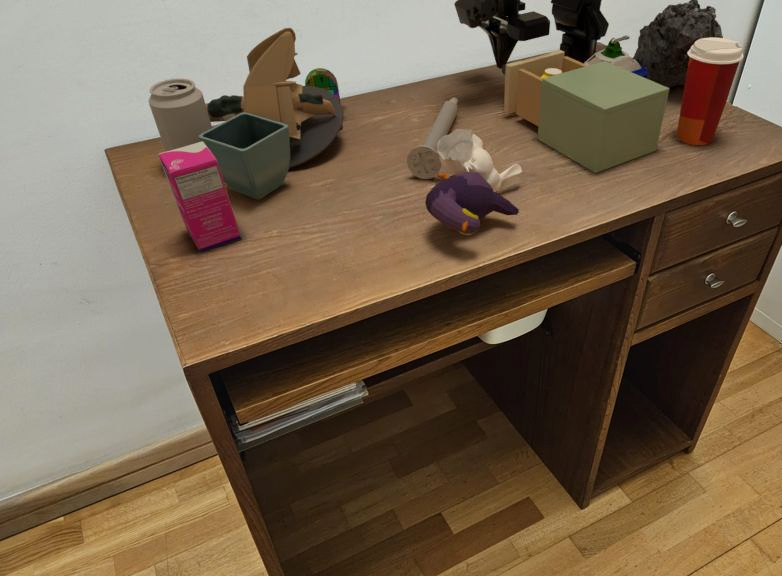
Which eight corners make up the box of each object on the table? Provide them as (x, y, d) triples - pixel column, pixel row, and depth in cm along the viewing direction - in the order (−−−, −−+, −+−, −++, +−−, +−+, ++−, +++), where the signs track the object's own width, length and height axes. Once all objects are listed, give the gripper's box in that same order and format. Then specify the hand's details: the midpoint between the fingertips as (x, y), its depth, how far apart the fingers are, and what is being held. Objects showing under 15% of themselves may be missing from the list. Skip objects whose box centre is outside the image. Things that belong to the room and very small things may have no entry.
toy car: (650, 96, 114) (661, 39, 107) (598, 111, 110) (606, 53, 103) (614, 79, 120) (623, 25, 113) (563, 93, 115) (569, 37, 109)
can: (230, 155, 101) (209, 78, 92) (203, 178, 96) (178, 98, 87) (190, 149, 103) (165, 72, 94) (160, 171, 97) (132, 92, 89)
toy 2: (490, 239, 88) (524, 213, 83) (438, 257, 80) (472, 229, 75) (450, 172, 89) (481, 142, 84) (394, 182, 80) (425, 149, 76)
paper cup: (714, 127, 105) (739, 36, 95) (724, 149, 99) (751, 54, 90) (665, 126, 105) (685, 35, 96) (672, 147, 100) (694, 53, 90)
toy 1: (227, 101, 107) (178, 15, 94) (343, 77, 105) (309, -14, 92) (216, 182, 97) (160, 99, 84) (343, 157, 95) (306, 68, 82)
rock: (714, 107, 111) (742, 14, 100) (633, 104, 112) (653, 10, 101) (695, 71, 123) (719, -17, 112) (623, 68, 123) (639, -19, 113)
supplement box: (185, 233, 85) (156, 151, 77) (229, 219, 87) (205, 139, 79) (197, 254, 81) (168, 171, 73) (243, 239, 84) (219, 157, 76)
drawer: (486, 101, 112) (487, 55, 106) (538, 87, 116) (541, 41, 111) (550, 138, 101) (555, 89, 96) (604, 120, 105) (612, 72, 100)
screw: (445, 118, 114) (471, 111, 112) (414, 182, 95) (445, 174, 93) (436, 90, 111) (463, 82, 109) (401, 150, 92) (434, 142, 90)
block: (294, 110, 113) (286, 70, 108) (341, 106, 114) (335, 66, 109) (292, 139, 104) (283, 97, 99) (343, 134, 105) (336, 92, 100)
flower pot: (259, 211, 89) (243, 150, 82) (214, 195, 92) (195, 135, 86) (301, 183, 94) (289, 124, 88) (257, 169, 97) (243, 111, 91)
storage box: (537, 139, 103) (542, 78, 96) (596, 119, 108) (604, 60, 101) (595, 173, 95) (604, 109, 88) (656, 150, 99) (669, 88, 93)
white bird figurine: (468, 171, 81) (505, 218, 88) (507, 126, 82) (540, 177, 88) (421, 151, 90) (457, 195, 97) (456, 110, 90) (490, 157, 97)
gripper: (431, -36, 106) (434, 61, 117) (497, -11, 94) (494, 95, 105) (486, -46, 110) (485, 49, 121) (556, -23, 99) (547, 80, 109)
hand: (500, 67), depth 114 cm, fingers closed
